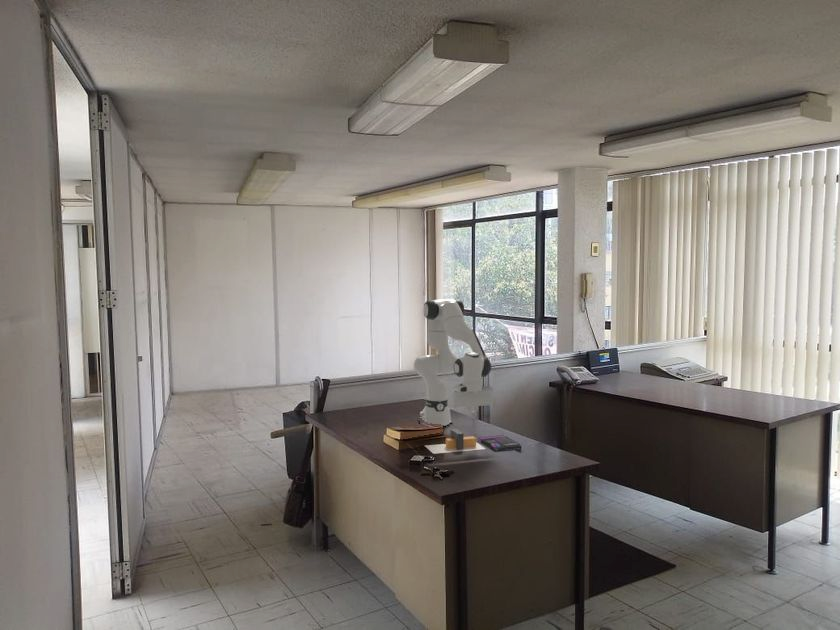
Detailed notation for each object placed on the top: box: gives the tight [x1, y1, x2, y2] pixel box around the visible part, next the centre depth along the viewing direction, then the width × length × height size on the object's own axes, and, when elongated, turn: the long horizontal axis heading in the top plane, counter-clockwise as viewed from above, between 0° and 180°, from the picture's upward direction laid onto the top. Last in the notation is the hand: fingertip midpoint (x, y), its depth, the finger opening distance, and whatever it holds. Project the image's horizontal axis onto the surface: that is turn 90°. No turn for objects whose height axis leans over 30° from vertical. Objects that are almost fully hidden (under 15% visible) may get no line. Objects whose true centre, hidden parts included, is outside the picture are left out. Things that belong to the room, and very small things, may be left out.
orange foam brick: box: [445, 435, 477, 449], centre depth 292 cm, size 4×14×4 cm, turn 107°
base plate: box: [424, 441, 486, 454], centre depth 291 cm, size 14×26×1 cm, turn 107°
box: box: [477, 434, 522, 452], centre depth 296 cm, size 14×4×20 cm
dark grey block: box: [450, 428, 464, 449], centre depth 291 cm, size 10×3×7 cm, turn 17°
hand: (472, 415), depth 293 cm, fingers closed
